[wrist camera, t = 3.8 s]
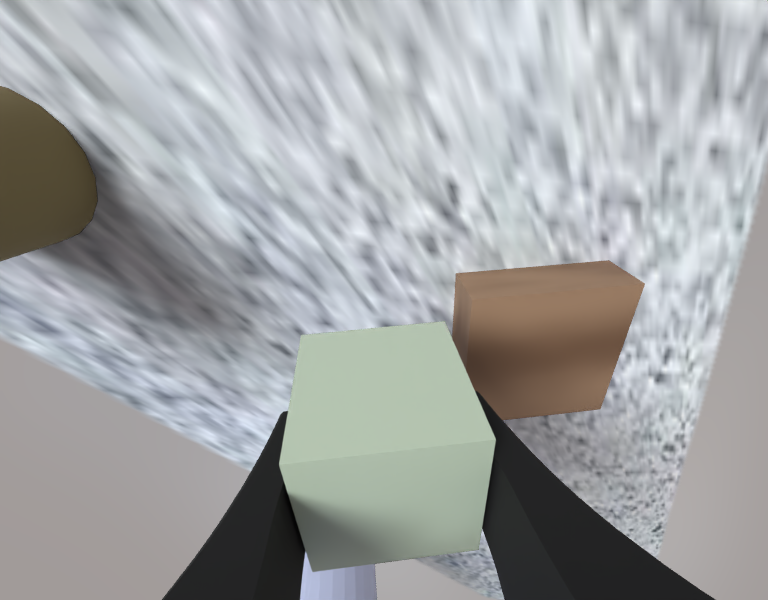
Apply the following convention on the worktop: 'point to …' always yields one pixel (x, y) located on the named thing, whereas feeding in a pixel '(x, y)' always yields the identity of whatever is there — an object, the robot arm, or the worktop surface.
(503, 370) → the walnut block
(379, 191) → the worktop surface
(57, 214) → the cork
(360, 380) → the sage cube
